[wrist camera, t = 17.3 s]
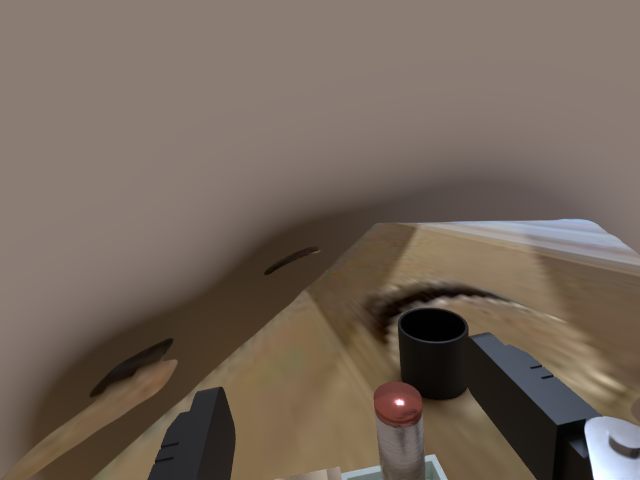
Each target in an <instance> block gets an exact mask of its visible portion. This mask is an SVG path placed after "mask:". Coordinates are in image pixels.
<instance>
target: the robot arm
mask: <svg viewBox="0 0 640 480" xmlns="http://www.w3.org/2000/svg"><path fill="white" fill-rule="evenodd" d="M464 376H465V381H466V384H467V387H468V389H469V391H470V393H471V394H472V396H473V397H474V398H475V400H476V401H477V402H478V404H479V405H480V406H481V407H482V409H483V410H484V411H485V413H486V414H487V415H488V417H489V418H490V419H491V420H492V422H493V423H494V424H495V426H496V427H497V428H498V430H499V431H500V432H501V433H502V435H503V436H504V437H505V439H506V440H507V441H508V443H509V444H510V445H511V447H512V448H513V449H514V450H515V452H516V453H517V454H518V456H519V457H520V458H521V460H522V461H523V462H524V463H525V465H526V466H527V467H528V469H529V470H530V471H531V473H532V474H533V475H534V476H535V478H536V479H537V480H640V427H638V426H636V425H634V424H632V423H629V422H627V421H624V420H621V419H617V418H612V417H603V416H602V415H601V414H599V413H598V412H597V411H596V410H595V409H593V408H592V407H591V406H590V405H589V404H588V403H586V402H585V401H584V400H583V399H582V398H580V397H579V396H578V395H577V394H576V393H574V392H573V391H572V390H571V389H570V388H569V387H567V386H566V385H565V384H564V383H563V382H561V381H560V380H559V379H558V378H557V377H554V376H553V374H552V373H551V372H549V371H548V370H547V369H546V368H545V367H542V365H541V364H540V363H539V362H538V361H536V360H535V359H534V358H533V357H532V356H530V355H529V354H528V353H526V352H524V351H522V350H520V349H518V348H516V347H514V346H512V345H506V346H505V345H504V344H503V343H501V342H500V341H499V340H498V339H497V338H496V337H495V336H494V335H492V334H491V333H482V334H477V335H473V336H468V337H465V339H464ZM235 440H236V438H235V426H234V422H233V419H232V415H231V412H230V408H229V405H228V401H227V398H226V395H225V391H224V389H223V387H217V388H212V389H207V390H202V391H198V392H197V393H196V394H195V397H194V400H193V403H192V406H191V409H190V411H188V412H183V413H180V414H179V415H178V416H177V418H176V419H175V420H174V421H173V423H172V424H171V425H170V427H169V428H168V429H167V432H166V434H165V437H164V439H163V442H162V444H161V449H160V450H159V452H158V454H157V457H156V459H155V464H154V465H153V467H152V469H151V472H150V475H149V477H148V480H230V478H231V471H232V464H233V457H234V451H235Z"/></svg>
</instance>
